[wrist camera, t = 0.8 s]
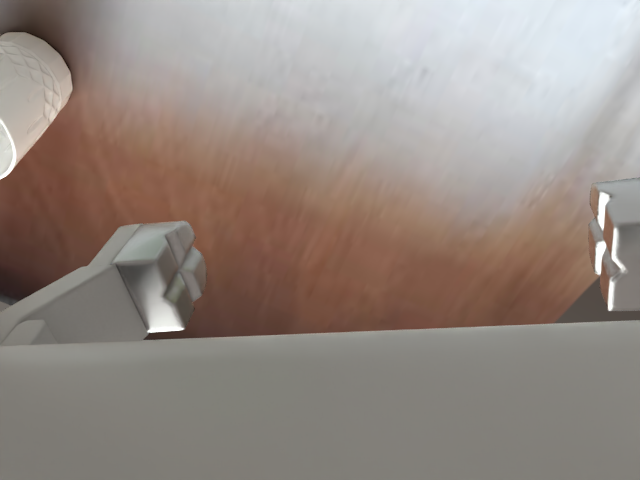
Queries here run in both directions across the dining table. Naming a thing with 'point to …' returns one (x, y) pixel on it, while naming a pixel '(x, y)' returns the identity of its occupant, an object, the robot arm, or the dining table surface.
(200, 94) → the dining table surface
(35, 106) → the white cup
